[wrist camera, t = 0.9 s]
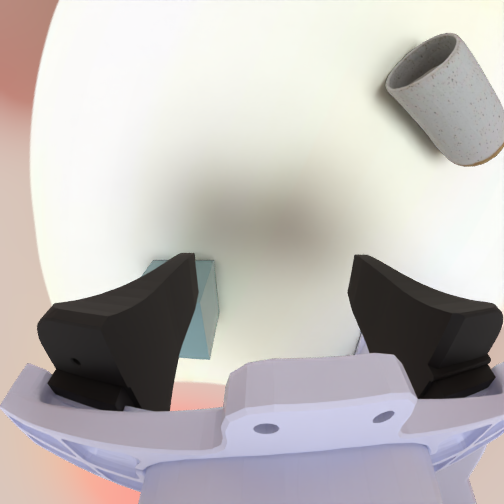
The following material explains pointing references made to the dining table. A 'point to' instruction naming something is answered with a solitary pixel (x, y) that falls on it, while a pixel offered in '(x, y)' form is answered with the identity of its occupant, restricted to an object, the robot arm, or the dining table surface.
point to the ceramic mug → (450, 99)
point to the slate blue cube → (200, 312)
